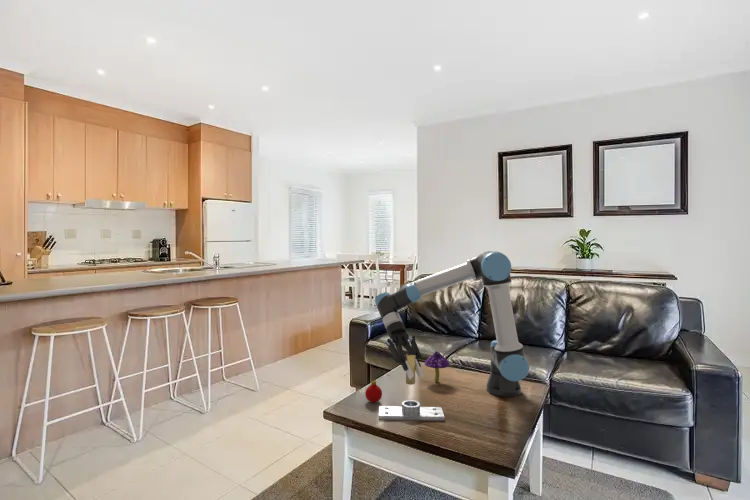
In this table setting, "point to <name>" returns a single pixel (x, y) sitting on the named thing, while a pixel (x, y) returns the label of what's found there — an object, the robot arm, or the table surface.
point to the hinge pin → (411, 361)
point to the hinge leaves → (410, 412)
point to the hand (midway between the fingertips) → (416, 376)
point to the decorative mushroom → (437, 363)
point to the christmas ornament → (373, 392)
